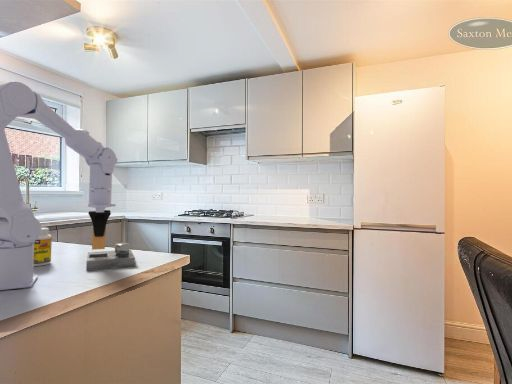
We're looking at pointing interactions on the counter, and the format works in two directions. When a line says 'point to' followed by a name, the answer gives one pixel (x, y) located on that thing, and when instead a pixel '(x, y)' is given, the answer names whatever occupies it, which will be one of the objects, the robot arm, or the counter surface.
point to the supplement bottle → (42, 248)
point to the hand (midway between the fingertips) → (99, 235)
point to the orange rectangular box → (98, 241)
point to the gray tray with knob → (111, 258)
